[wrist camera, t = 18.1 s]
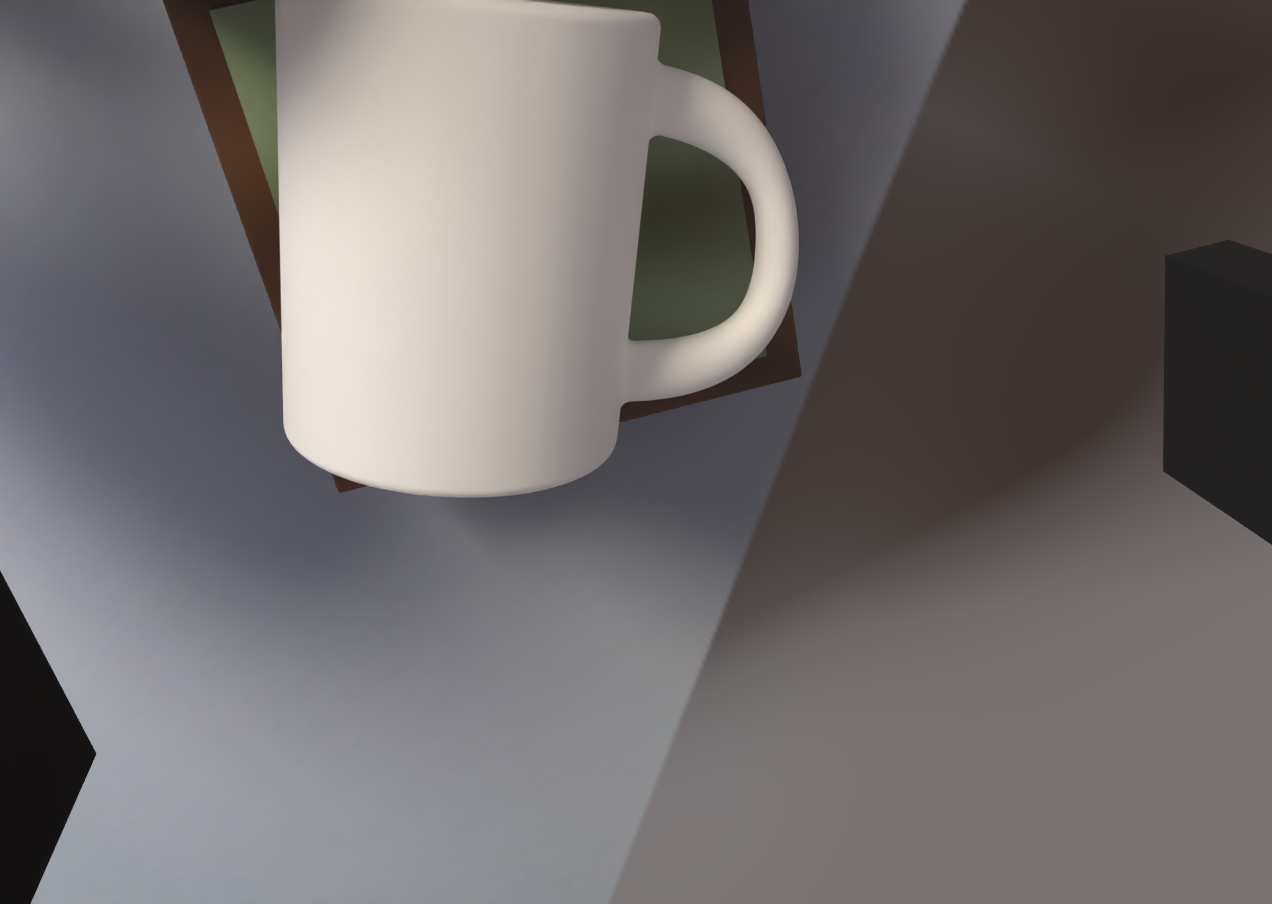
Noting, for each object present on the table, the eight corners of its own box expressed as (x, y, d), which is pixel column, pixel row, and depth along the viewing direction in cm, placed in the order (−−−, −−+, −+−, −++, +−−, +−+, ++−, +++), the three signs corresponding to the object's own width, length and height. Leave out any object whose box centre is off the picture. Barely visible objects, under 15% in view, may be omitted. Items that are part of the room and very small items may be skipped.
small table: (748, 318, 38) (804, 379, 32) (353, 416, 37) (337, 497, 31) (676, -128, 32) (729, -152, 26) (204, -26, 31) (150, -27, 25)
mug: (303, 371, 30) (260, 498, 22) (298, -29, 26) (245, -31, 19) (729, 390, 32) (815, 510, 25) (782, 26, 28) (902, 42, 21)
